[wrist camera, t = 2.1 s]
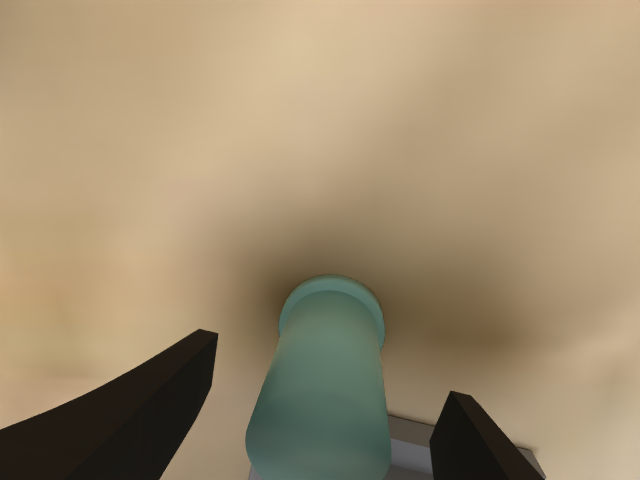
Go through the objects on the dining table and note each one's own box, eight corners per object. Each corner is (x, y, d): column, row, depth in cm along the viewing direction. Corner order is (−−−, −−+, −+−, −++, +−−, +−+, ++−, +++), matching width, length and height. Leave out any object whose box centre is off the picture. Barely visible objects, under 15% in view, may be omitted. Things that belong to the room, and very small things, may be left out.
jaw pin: (274, 350, 15) (224, 488, 9) (292, 264, 13) (246, 360, 8) (368, 373, 14) (378, 528, 9) (395, 288, 13) (427, 405, 7)
